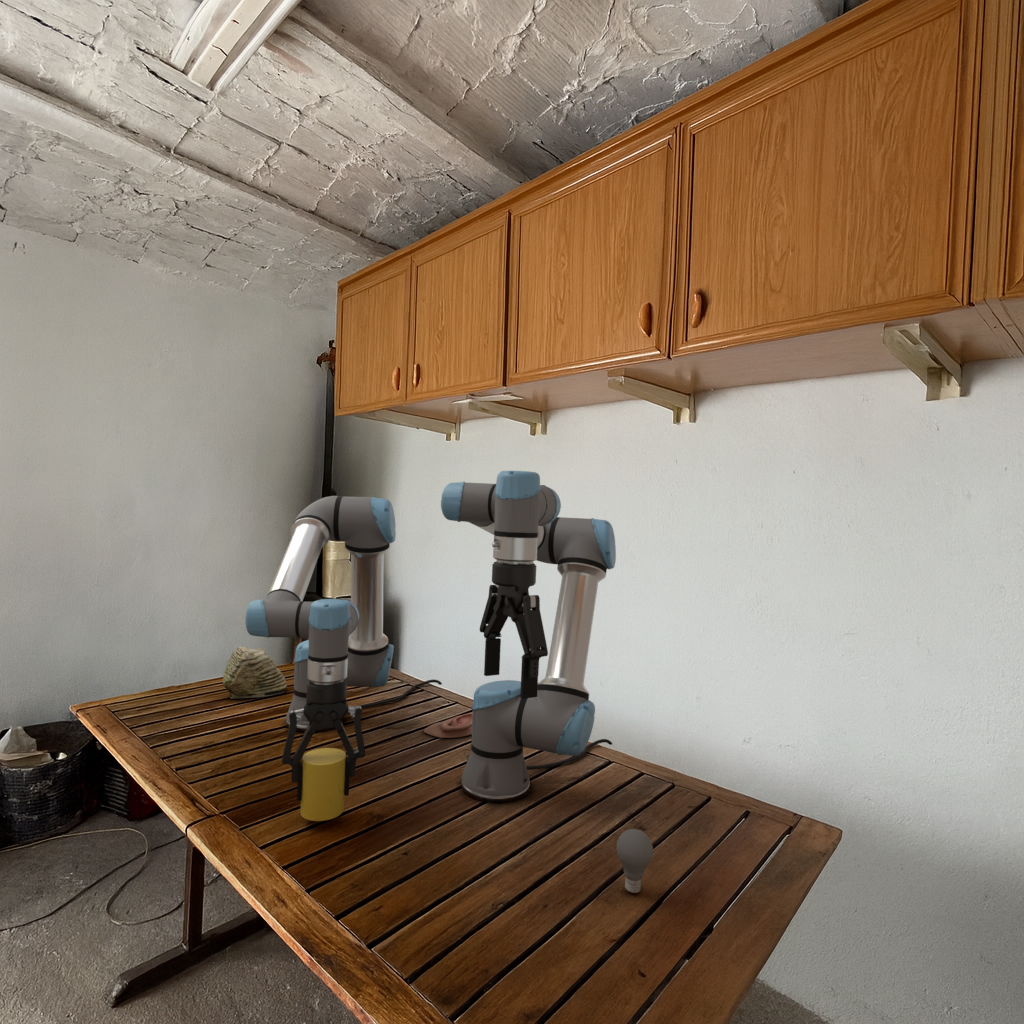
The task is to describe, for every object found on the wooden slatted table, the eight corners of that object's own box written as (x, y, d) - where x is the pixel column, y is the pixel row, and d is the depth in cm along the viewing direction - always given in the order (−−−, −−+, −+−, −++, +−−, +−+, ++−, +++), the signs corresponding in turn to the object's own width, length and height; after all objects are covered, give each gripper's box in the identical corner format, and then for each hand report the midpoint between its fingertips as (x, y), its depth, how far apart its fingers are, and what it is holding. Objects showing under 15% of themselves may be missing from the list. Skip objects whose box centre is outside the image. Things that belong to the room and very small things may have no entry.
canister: (331, 823, 119) (333, 767, 119) (292, 817, 121) (294, 761, 121) (350, 803, 127) (353, 750, 127) (313, 798, 129) (315, 745, 129)
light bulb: (610, 879, 108) (613, 822, 108) (644, 879, 109) (647, 822, 109) (619, 902, 102) (622, 840, 102) (655, 901, 103) (658, 840, 103)
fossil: (218, 695, 195) (220, 647, 195) (278, 685, 208) (279, 640, 207) (228, 703, 189) (230, 653, 188) (289, 692, 201) (290, 645, 201)
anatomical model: (420, 720, 170) (434, 707, 181) (419, 735, 170) (433, 721, 181) (467, 726, 167) (478, 712, 179) (467, 741, 167) (478, 726, 179)
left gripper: (268, 688, 117) (264, 810, 117) (384, 682, 123) (379, 797, 124) (270, 677, 124) (266, 792, 124) (379, 672, 131) (375, 781, 131)
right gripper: (464, 554, 117) (460, 668, 117) (531, 570, 95) (525, 710, 95) (501, 554, 121) (496, 665, 121) (573, 569, 99) (567, 705, 99)
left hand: (322, 794), depth 124 cm, fingers closed on canister, 8 cm apart
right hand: (509, 685), depth 108 cm, fingers open, 13 cm apart
